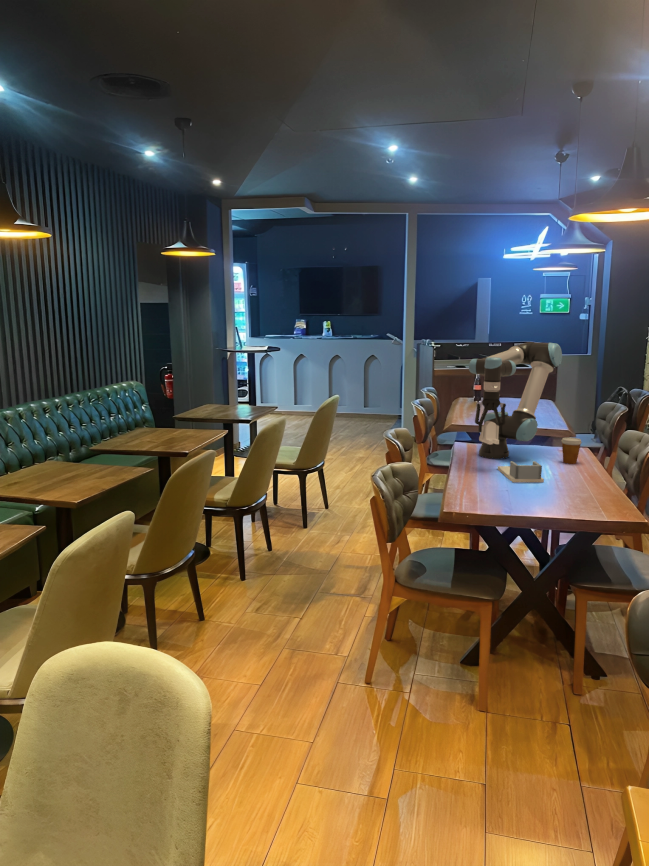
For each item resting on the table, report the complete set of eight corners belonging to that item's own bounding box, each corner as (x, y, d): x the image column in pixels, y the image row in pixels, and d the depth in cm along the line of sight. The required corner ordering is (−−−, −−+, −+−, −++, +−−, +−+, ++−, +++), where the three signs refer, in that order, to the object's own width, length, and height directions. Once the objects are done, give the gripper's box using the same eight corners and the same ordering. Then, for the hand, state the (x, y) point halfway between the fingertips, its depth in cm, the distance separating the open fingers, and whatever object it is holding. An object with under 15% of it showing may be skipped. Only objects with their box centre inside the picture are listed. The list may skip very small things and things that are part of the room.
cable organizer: (488, 440, 302) (489, 419, 300) (499, 444, 292) (501, 423, 290) (478, 440, 300) (480, 419, 298) (489, 444, 291) (491, 423, 289)
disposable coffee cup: (578, 460, 315) (580, 437, 313) (581, 465, 306) (583, 441, 304) (558, 459, 318) (560, 436, 315) (560, 464, 309) (562, 440, 306)
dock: (497, 469, 299) (498, 454, 297) (526, 469, 299) (527, 454, 297) (512, 482, 276) (513, 465, 275) (543, 482, 276) (544, 465, 275)
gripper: (472, 391, 288) (470, 440, 292) (514, 391, 288) (511, 440, 292) (469, 389, 295) (466, 437, 300) (510, 389, 295) (507, 437, 299)
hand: (489, 438), depth 296 cm, fingers closed on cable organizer, 6 cm apart
